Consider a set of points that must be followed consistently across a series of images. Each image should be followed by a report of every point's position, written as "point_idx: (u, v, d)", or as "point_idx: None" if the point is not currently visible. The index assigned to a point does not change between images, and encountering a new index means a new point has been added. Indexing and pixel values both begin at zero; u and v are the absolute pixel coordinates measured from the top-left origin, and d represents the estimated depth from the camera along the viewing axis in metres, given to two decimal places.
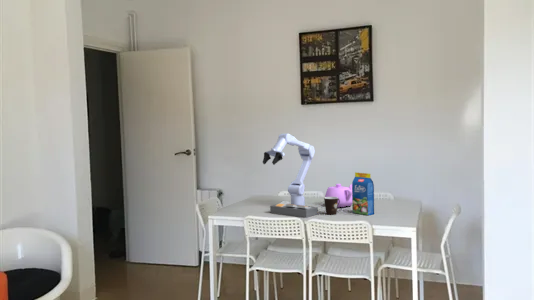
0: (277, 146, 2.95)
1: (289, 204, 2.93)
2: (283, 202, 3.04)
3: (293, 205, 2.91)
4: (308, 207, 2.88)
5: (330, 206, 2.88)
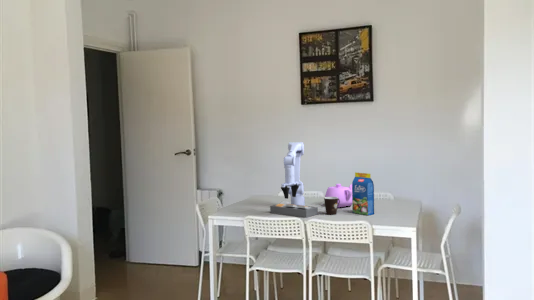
0: (294, 177, 2.92)
1: (289, 204, 2.93)
2: (283, 202, 3.04)
3: (293, 205, 2.91)
4: (308, 207, 2.88)
5: (330, 206, 2.88)
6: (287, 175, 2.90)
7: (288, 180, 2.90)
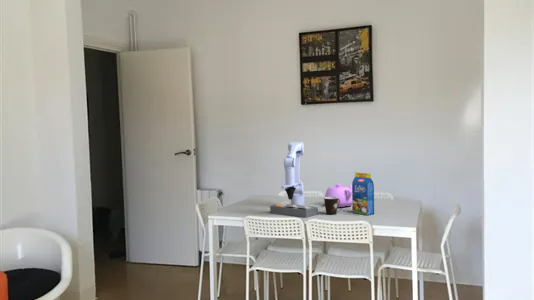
0: (294, 179, 2.92)
1: (289, 204, 2.93)
2: (283, 202, 3.04)
3: (293, 205, 2.91)
4: (308, 207, 2.88)
5: (330, 206, 2.88)
6: (287, 177, 2.90)
7: (288, 182, 2.90)
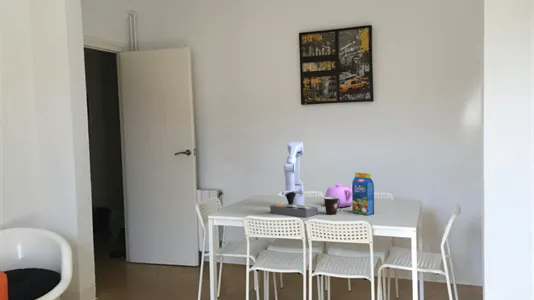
0: (294, 184, 2.92)
1: None
2: (283, 202, 3.04)
3: (293, 205, 2.91)
4: (308, 207, 2.88)
5: (330, 206, 2.88)
6: (287, 182, 2.90)
7: (288, 187, 2.90)
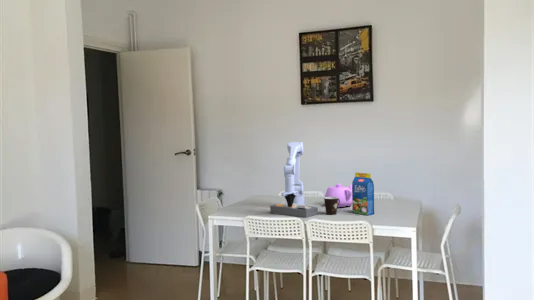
0: (294, 186, 2.92)
1: None
2: (283, 202, 3.04)
3: (293, 207, 2.91)
4: (308, 207, 2.88)
5: (330, 206, 2.88)
6: (287, 184, 2.90)
7: (288, 189, 2.90)
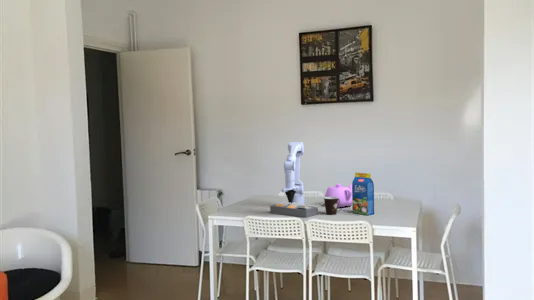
0: (294, 182, 2.92)
1: None
2: (283, 202, 3.04)
3: None
4: (308, 207, 2.88)
5: (330, 206, 2.88)
6: (287, 180, 2.91)
7: (288, 185, 2.91)
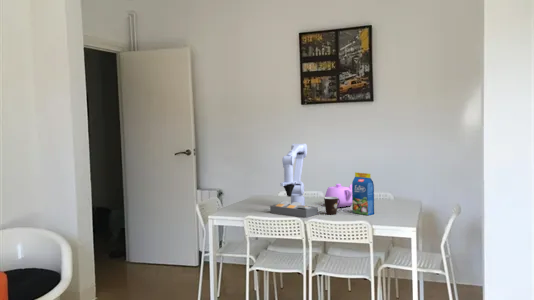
0: None
1: (289, 207, 2.93)
2: (283, 202, 3.04)
3: None
4: (308, 207, 2.88)
5: (330, 206, 2.88)
6: (285, 174, 2.96)
7: (287, 179, 2.96)
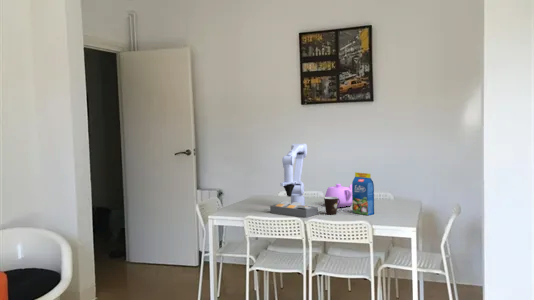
0: None
1: (289, 207, 2.93)
2: (283, 202, 3.04)
3: None
4: (308, 207, 2.88)
5: (330, 206, 2.88)
6: (285, 174, 2.96)
7: (287, 179, 2.96)
